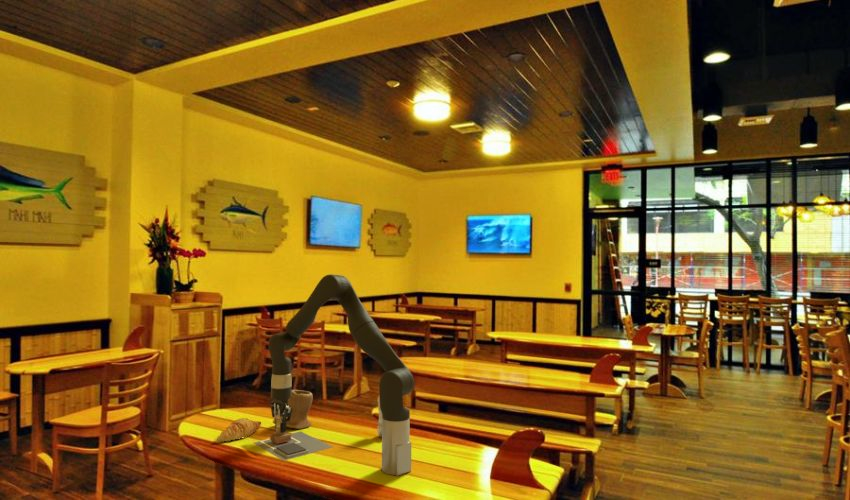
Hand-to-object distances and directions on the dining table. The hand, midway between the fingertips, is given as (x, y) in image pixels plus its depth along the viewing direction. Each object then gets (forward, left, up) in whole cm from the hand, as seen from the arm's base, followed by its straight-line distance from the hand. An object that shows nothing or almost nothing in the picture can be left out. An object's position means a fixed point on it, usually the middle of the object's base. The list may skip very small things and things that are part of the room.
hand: (280, 430), depth 196 cm
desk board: (-6, -2, -5) cm, 8 cm away
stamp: (0, 0, -3) cm, 3 cm away
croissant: (+20, +8, -5) cm, 22 cm away
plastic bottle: (-20, -35, -5) cm, 41 cm away
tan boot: (+16, -15, -5) cm, 23 cm away
